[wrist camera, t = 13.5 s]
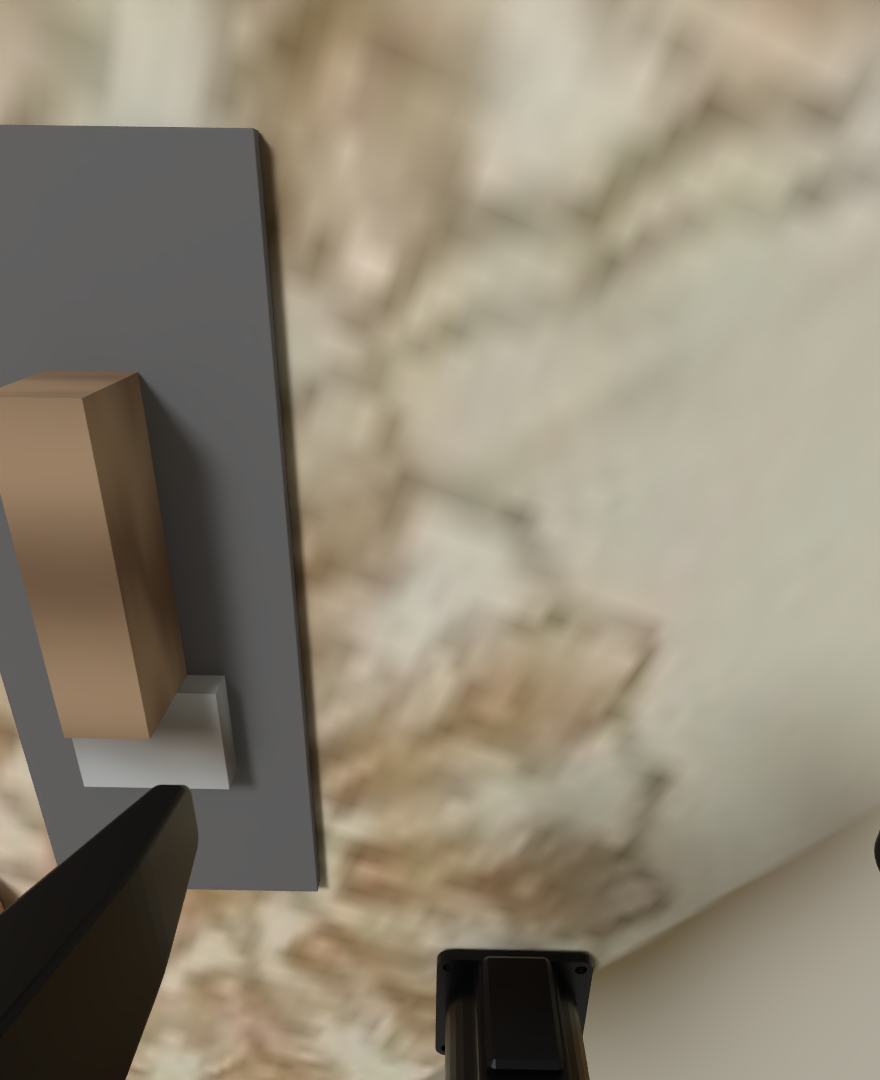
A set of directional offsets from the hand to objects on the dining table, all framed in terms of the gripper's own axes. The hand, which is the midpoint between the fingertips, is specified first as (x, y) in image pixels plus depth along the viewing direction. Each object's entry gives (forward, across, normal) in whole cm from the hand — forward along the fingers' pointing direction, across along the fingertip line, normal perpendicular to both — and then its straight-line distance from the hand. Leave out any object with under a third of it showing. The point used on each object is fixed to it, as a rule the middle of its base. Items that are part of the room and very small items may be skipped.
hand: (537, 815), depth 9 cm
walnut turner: (+12, +11, +4) cm, 17 cm away
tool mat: (+13, +11, +4) cm, 17 cm away
